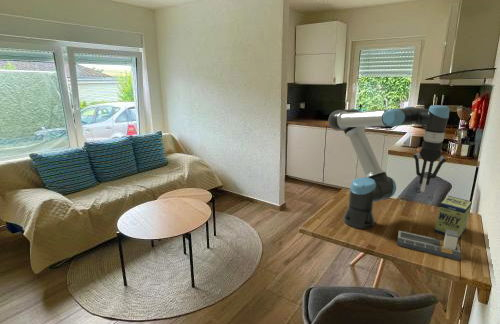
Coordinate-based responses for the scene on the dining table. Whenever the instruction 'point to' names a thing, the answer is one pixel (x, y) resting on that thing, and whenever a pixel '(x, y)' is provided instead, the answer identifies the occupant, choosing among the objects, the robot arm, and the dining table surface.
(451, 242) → the fader knob
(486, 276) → the dining table surface
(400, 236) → the console board
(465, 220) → the protein box
